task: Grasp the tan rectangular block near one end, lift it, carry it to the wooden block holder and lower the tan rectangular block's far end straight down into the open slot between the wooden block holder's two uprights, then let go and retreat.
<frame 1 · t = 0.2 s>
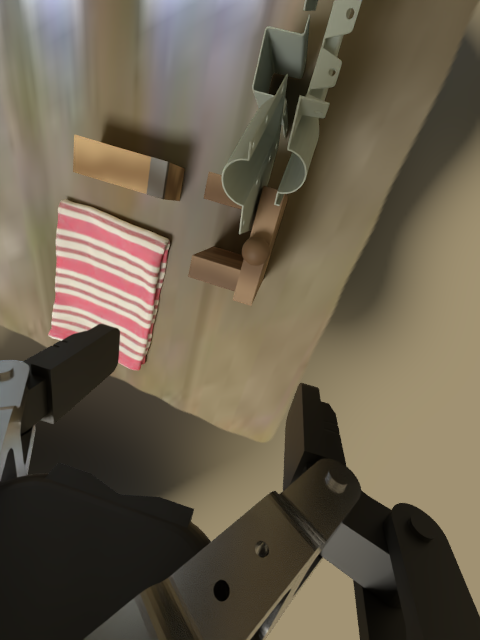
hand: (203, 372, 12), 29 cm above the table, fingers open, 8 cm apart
wooden block holder: (246, 233, 38), on the table
bracket: (296, 104, 32), on the table, touching wooden block holder
tan rectangular block: (141, 173, 38), on the table
dish towel: (112, 288, 45), on the table
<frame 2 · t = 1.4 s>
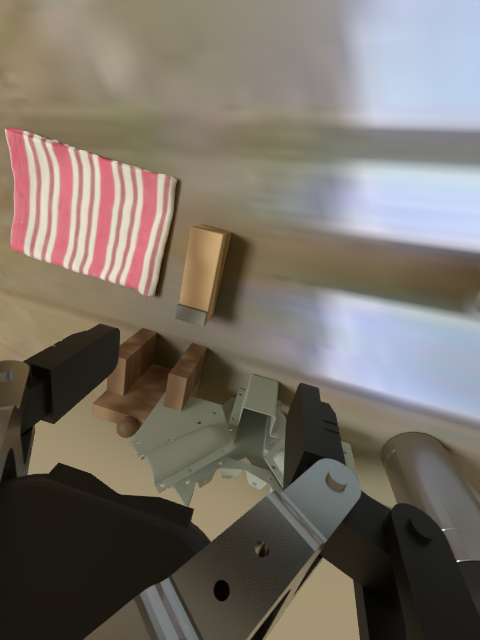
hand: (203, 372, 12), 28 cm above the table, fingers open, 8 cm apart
wooden block holder: (171, 358, 46), on the table
bracket: (259, 394, 46), on the table, touching wooden block holder
tan rectangular block: (209, 271, 40), on the table
dish towel: (96, 218, 41), on the table
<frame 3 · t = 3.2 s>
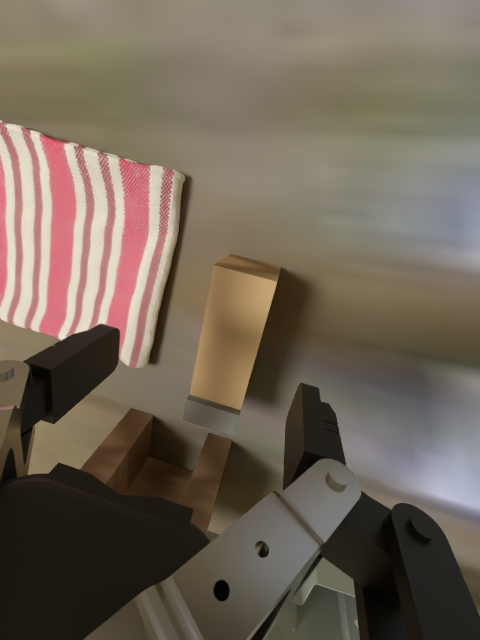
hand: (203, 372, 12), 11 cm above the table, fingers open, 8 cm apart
wooden block holder: (175, 452, 30), on the table
bracket: (320, 511, 29), on the table, touching wooden block holder
tan rectangular block: (239, 329, 24), on the table
dish towel: (51, 241, 25), on the table
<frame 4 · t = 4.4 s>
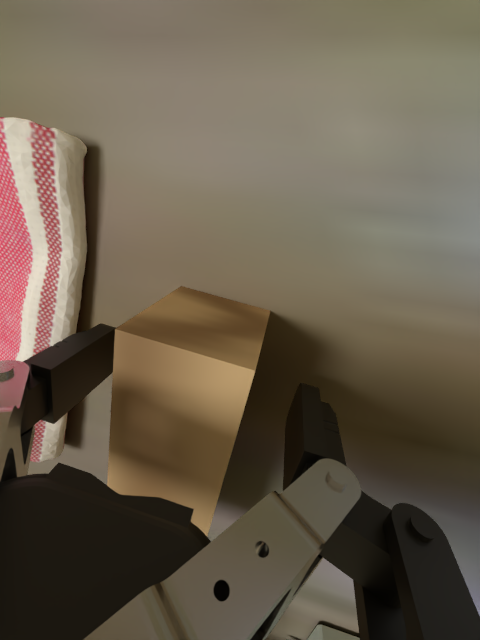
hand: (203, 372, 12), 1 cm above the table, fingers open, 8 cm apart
tan rectangular block: (203, 404, 14), on the table
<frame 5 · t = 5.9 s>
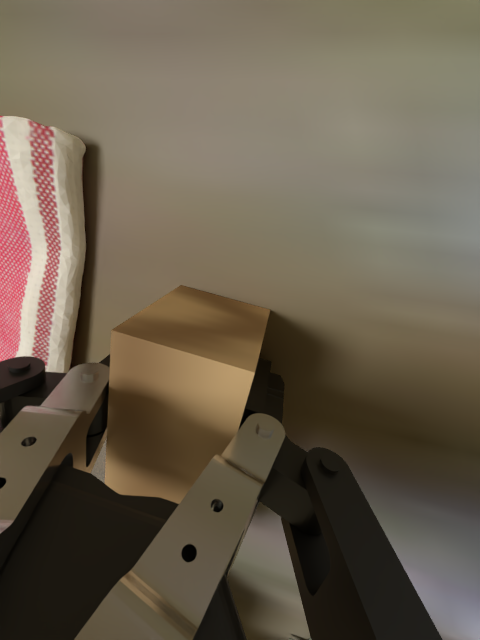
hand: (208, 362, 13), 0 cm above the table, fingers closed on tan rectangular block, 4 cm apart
tan rectangular block: (201, 406, 14), on the table, touching gripper
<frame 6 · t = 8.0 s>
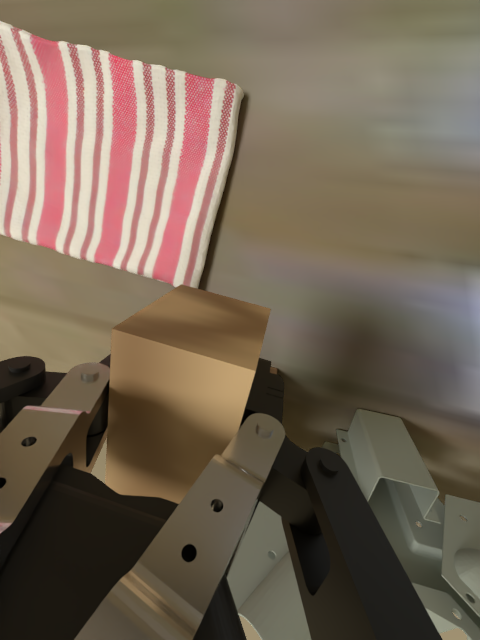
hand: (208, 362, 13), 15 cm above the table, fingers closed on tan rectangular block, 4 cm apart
bracket: (368, 437, 30), on the table, touching wooden block holder
tan rectangular block: (202, 405, 14), point 15 cm above the table, touching gripper
dish towel: (106, 172, 26), on the table
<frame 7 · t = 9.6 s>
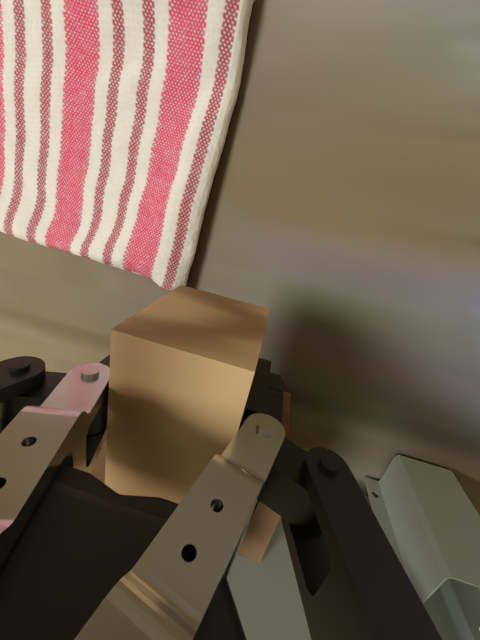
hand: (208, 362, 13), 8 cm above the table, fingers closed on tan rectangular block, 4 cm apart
wooden block holder: (216, 410, 24), on the table
bracket: (404, 490, 24), on the table, touching wooden block holder
tan rectangular block: (201, 405, 14), point 8 cm above the table, touching gripper
dish towel: (63, 121, 19), on the table
when the fingers open (2 cm above the table, at t = 11.2 s): tan rectangular block drops 1 cm, on the table.
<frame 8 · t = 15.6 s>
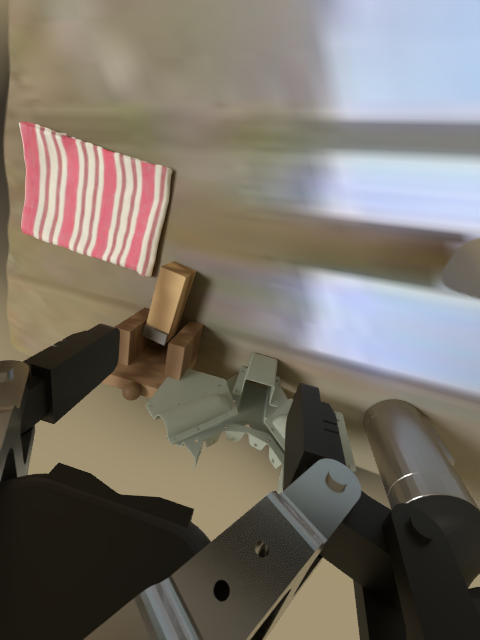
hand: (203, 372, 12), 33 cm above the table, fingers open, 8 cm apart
wooden block holder: (170, 336, 50), on the table
bracket: (260, 372, 50), on the table, touching wooden block holder
tan rectangular block: (176, 298, 48), on the table
dish towel: (99, 204, 45), on the table
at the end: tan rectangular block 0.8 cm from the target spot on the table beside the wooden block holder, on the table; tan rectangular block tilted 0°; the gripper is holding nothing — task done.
